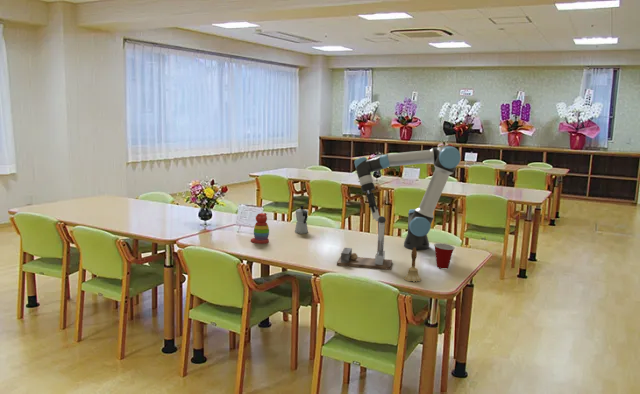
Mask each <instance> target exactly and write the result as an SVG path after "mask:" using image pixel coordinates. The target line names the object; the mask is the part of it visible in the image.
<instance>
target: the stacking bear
mask: <svg viewBox="0 0 640 394" xmlns="http://www.w3.org/2000/svg"><path fill="white" fill-rule="evenodd" d="M255 220H256V222H255V224H254V227H253V236H254V237H252V238H250V242H251V243H254V244H260V245H263V244H268V243H270V241H269V235H270V227H269V224H268V222H267V221H268V216H267V213H265V212H264V213H263V212H262V213H257V214H256V216H255Z"/></svg>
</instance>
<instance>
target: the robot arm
mask: <svg viewBox="0 0 640 394" xmlns="http://www.w3.org/2000/svg"><path fill="white" fill-rule="evenodd" d="M461 157H462V156H461V153H460V151H459V149H457V148H456V147H454V146H452V145H449V144H448V145H442V146H438V147H437V146H435V147H432V148H431V149H426V150H425V149H424V150H417V151H416V150H414V151H405V152H395V153H386V154H385V153H383V154H381V153H378V154H376V155H374V157H373V158H370V159H367V157H364V156H363V157H359V158H356V159H355V160H354V161H353V162H354V166H355V172H356V175H357V177H358V180H357V181H358V183H359V185H360V188H361V192H362V193H366V195H365V196H366V198H367V200H368V202H367V203H368V208H369V209H370V211H371V212H370V213H371V215H372V219H373V220H375V222H378V218H379V217H380V213H379V209H380V208H379V207H378V206H377V203H376V198H375V194H374V192H372V191H374V190H375V189H376V187H375V183H374V179H373V177H372V173H374V172H377V171H382V170H385V169H388V168H389V167H398V166H407V165H408V166H410V165H420V164H430V163H431V164H433V166H434V170H433V173H432V176H431V178H430V181H429V183H428V186H427V188H426V190H425V193H424V194H423V197H422V200H421V201H420V203H419V206H418V207H417V208H410V209H409V210H408V218H407V219H408V220H407V221H408V222H407V234H406V237H405V239H404V241H403V242H404V243H403V247H404V248H406V249H410V250H413V248H416V251H417V250H419V251H422V250H428V249H430V241H429V238H428V234H429V232H430V231H431V226H432V223H433V220H434V218H435V217H434V212H435V210H436V207H437V205H438V202H439V200H440V199H441V195H442V193H443V191H444V189H445V186H446V184H447V181H448V179H449V177H450V175H453V174H454V173H455V170H456V167H457V166H459V164H460V162H461Z"/></svg>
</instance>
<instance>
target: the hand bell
mask: <svg viewBox="0 0 640 394" xmlns="http://www.w3.org/2000/svg"><path fill="white" fill-rule="evenodd" d="M417 254H418V253H417V250H416V248H413V249H411V267H409V268H408V270H407V274H406V275H405V277H404V278H403V280H404V279H405V281H406V280H407V281H406V282H409V281H413V282H412V283H418V282H417V281H419V282H421V281H422V278H421V277H420V275H419V270H418V268H417V267H416V259H417V256H418V255H417ZM420 280H421V281H420ZM415 281H416V282H415Z"/></svg>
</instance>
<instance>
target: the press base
mask: <svg viewBox="0 0 640 394" xmlns="http://www.w3.org/2000/svg"><path fill="white" fill-rule="evenodd" d="M392 263H393V260H392V259H386V258H385V259H384V263H383V265H376V264H375V258H373V257H364V256H363V257H361V256H360V257H359V256H358V254H357V253H356V252H353V248H352V247H344V248H343V250H342V251H341V253H340V257H339V258H338V260H337V261H336V266H340V267H342V266H343V267H354V268H365V269H374V270H375V269H376V270H386V271H387V270H388V271H390V270H391V268H392Z"/></svg>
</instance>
